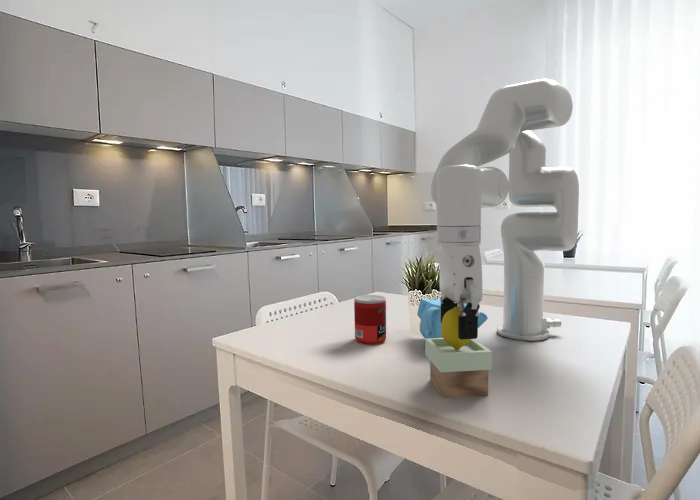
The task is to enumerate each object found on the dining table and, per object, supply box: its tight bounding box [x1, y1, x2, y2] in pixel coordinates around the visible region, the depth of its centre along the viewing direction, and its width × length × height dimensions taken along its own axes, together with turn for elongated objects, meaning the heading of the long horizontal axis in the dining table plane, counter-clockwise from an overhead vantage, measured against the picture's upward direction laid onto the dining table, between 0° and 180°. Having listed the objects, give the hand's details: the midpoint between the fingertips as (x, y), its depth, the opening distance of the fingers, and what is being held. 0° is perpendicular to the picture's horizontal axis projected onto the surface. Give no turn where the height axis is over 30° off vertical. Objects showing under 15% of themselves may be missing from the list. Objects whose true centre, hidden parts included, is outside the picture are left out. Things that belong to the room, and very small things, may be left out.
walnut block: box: [429, 360, 490, 399], centre depth 76 cm, size 8×8×5 cm
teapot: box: [417, 297, 488, 340], centre depth 101 cm, size 20×17×12 cm
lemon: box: [441, 307, 470, 350], centre depth 75 cm, size 6×6×8 cm
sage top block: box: [424, 338, 493, 372], centre depth 75 cm, size 9×9×3 cm
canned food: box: [353, 294, 387, 346], centre depth 104 cm, size 8×8×11 cm
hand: (457, 330), depth 75 cm, fingers open, 9 cm apart
